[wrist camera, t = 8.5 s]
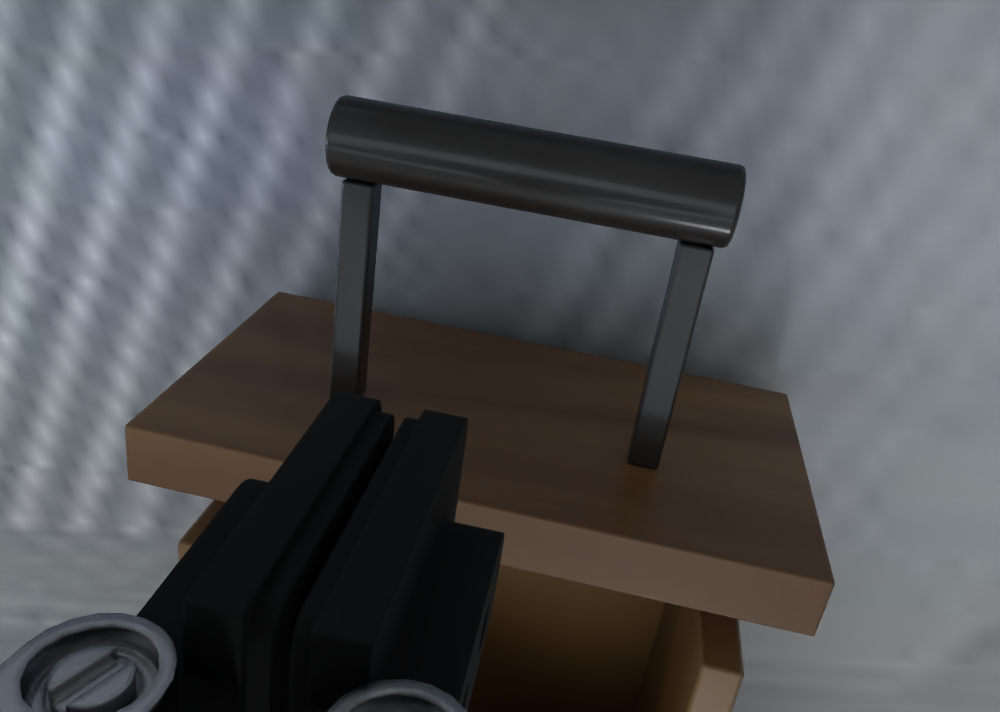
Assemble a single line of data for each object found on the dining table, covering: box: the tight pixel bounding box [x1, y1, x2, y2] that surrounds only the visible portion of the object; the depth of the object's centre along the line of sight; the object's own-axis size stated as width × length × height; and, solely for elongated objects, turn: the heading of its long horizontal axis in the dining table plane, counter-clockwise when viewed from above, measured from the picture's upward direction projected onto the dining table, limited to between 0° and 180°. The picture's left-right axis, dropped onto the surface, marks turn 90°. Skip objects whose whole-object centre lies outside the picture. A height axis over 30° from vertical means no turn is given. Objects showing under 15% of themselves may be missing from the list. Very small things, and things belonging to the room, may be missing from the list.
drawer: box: [125, 95, 835, 712], centre depth 20 cm, size 20×13×7 cm, turn 172°
